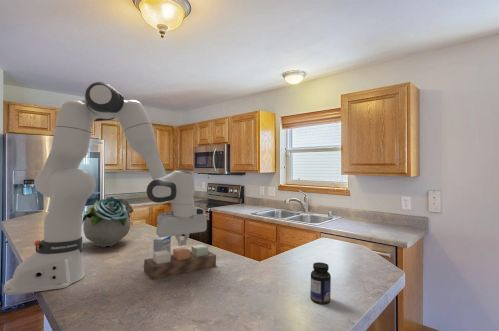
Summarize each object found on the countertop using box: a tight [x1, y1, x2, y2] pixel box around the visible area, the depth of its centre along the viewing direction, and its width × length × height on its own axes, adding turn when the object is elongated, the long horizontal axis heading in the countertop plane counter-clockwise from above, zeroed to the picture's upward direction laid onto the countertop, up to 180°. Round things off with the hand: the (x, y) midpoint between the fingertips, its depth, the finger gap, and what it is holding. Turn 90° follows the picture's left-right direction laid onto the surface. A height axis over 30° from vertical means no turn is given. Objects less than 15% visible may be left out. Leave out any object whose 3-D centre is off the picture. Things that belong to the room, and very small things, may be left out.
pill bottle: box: [309, 262, 332, 305], centre depth 87 cm, size 6×6×11 cm
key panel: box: [143, 250, 217, 281], centre depth 111 cm, size 26×10×4 cm, turn 127°
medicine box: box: [152, 236, 172, 253], centre depth 126 cm, size 8×4×9 cm, turn 168°
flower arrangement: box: [82, 196, 134, 248], centre depth 141 cm, size 25×25×24 cm
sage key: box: [190, 244, 209, 257], centre depth 116 cm, size 5×5×4 cm
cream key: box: [152, 250, 172, 264], centre depth 107 cm, size 5×5×4 cm
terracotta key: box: [172, 246, 191, 261], centre depth 111 cm, size 5×5×4 cm
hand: (182, 245), depth 112 cm, fingers closed
